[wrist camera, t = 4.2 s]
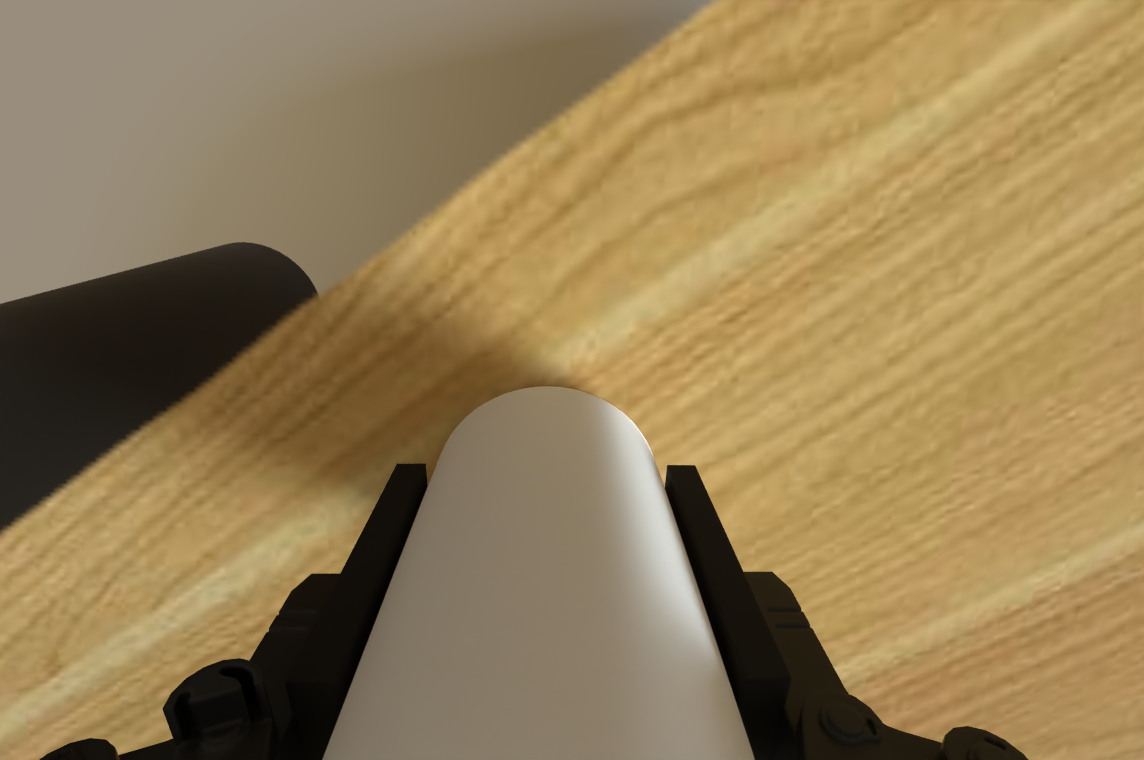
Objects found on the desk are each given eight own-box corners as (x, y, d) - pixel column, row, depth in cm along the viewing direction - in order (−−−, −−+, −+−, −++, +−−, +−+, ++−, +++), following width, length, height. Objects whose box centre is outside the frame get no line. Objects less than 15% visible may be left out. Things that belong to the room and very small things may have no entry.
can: (530, 596, 18) (492, 1296, 7) (392, 463, 16) (27, 1151, 5) (695, 494, 17) (973, 1157, 6) (568, 334, 15) (611, 878, 4)
